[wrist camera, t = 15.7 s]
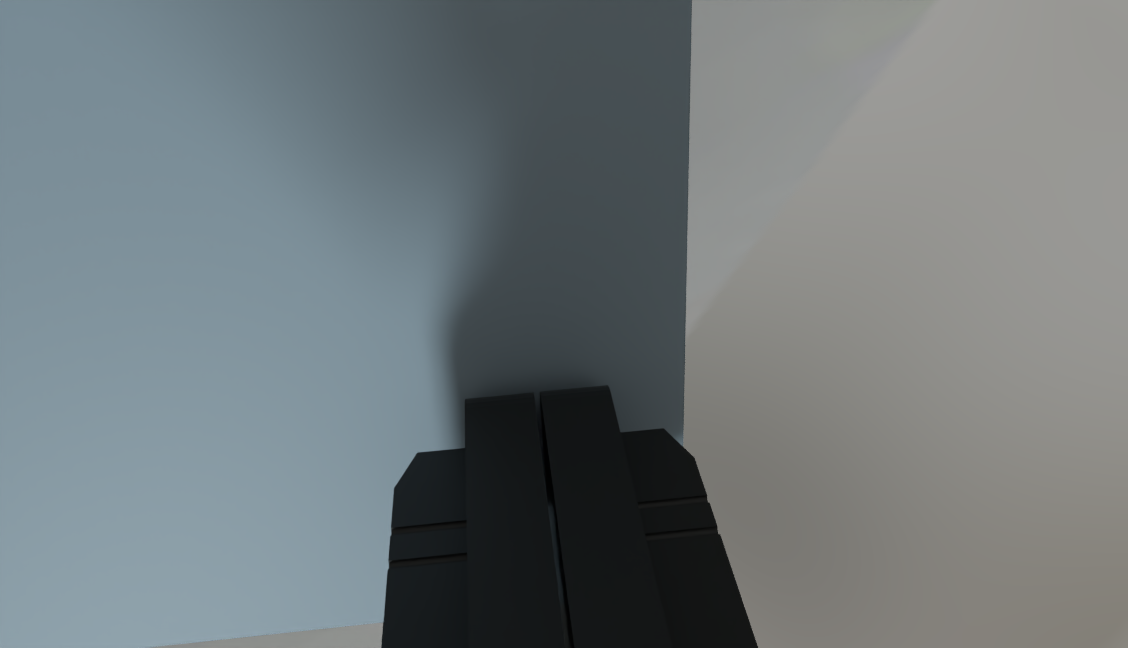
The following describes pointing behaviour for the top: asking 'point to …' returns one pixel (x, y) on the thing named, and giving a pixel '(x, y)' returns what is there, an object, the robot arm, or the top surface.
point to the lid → (307, 282)
